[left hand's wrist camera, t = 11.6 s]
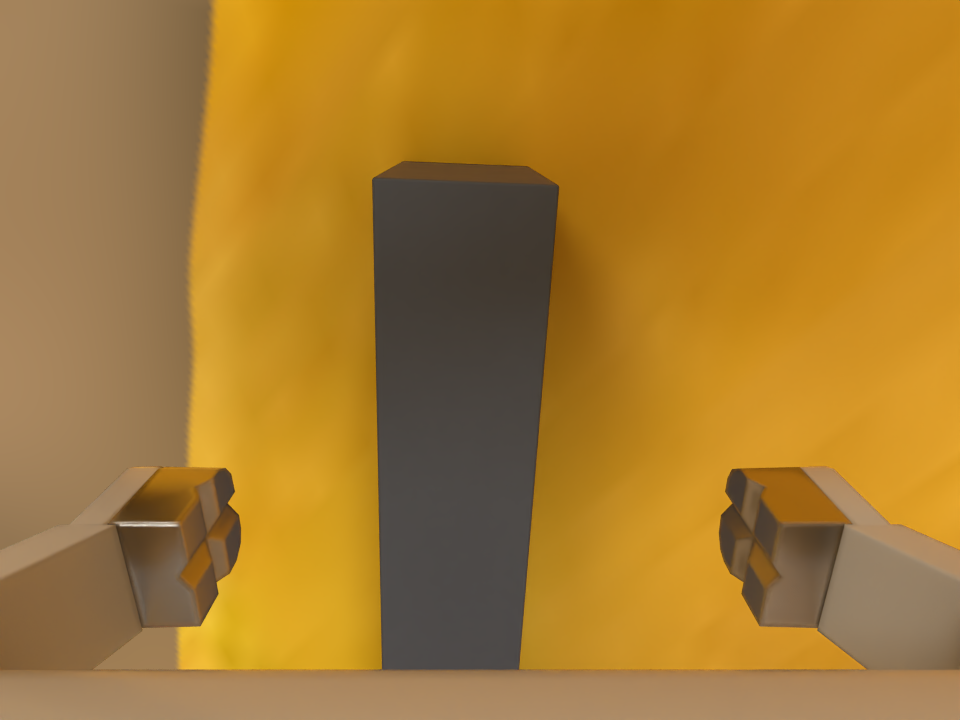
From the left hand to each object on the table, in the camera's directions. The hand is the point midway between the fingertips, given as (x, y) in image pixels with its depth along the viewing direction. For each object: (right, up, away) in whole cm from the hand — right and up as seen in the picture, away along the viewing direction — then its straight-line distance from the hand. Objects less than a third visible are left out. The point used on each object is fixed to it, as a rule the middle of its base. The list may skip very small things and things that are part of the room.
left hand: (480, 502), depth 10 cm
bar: (-2, -17, +21) cm, 27 cm away
